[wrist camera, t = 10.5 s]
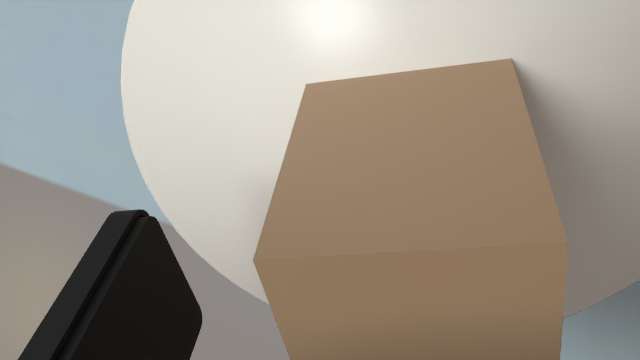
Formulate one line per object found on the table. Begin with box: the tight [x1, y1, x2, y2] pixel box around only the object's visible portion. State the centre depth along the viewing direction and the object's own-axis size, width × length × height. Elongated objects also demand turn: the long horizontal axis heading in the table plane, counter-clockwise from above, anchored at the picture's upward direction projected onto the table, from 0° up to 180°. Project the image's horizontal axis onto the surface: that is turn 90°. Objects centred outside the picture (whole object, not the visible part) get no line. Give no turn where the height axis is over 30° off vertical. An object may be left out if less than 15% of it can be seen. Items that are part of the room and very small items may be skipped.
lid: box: [121, 0, 640, 360], centre depth 11 cm, size 13×13×6 cm
